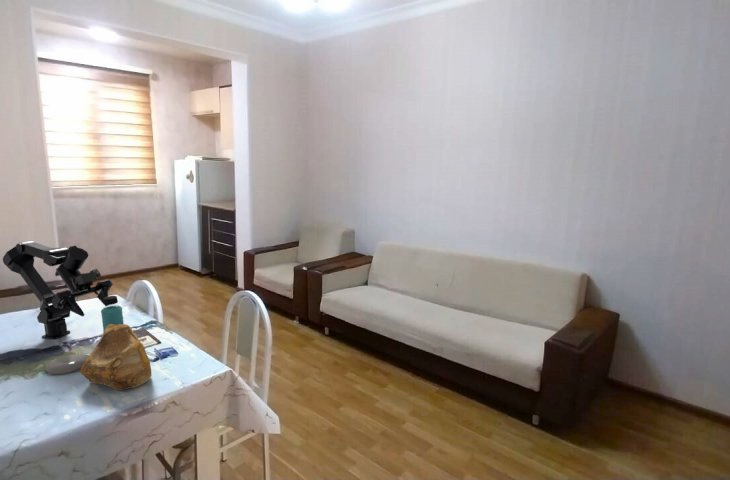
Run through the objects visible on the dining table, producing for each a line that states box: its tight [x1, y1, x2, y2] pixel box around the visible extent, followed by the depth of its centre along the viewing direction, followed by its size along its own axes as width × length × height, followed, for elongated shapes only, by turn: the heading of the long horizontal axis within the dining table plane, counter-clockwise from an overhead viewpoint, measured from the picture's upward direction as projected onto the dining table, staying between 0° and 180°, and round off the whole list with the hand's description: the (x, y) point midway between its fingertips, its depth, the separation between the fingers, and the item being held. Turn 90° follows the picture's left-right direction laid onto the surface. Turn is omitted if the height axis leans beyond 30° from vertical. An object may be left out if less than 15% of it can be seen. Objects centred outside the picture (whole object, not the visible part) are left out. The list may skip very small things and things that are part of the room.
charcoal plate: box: [45, 353, 90, 376], centre depth 136 cm, size 12×12×1 cm
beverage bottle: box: [100, 295, 125, 334], centre depth 145 cm, size 6×7×20 cm
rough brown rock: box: [79, 323, 152, 392], centre depth 126 cm, size 23×17×15 cm
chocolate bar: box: [132, 327, 162, 348], centre depth 157 cm, size 9×1×18 cm
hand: (96, 311), depth 147 cm, fingers open, 9 cm apart
